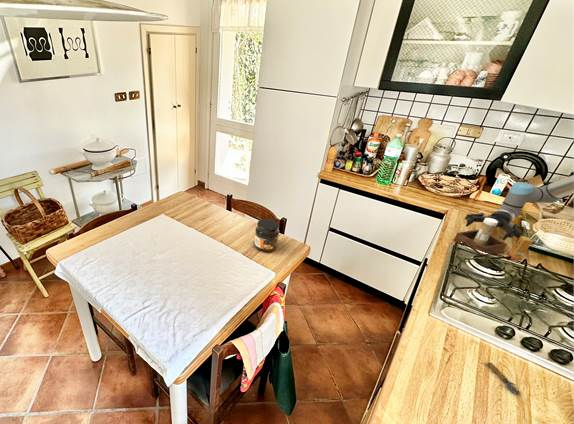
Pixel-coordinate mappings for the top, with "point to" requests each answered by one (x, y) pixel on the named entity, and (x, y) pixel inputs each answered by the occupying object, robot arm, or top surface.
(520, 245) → the supplement box
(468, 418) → the top surface
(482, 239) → the sprinkles bottle
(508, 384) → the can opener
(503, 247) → the holder
